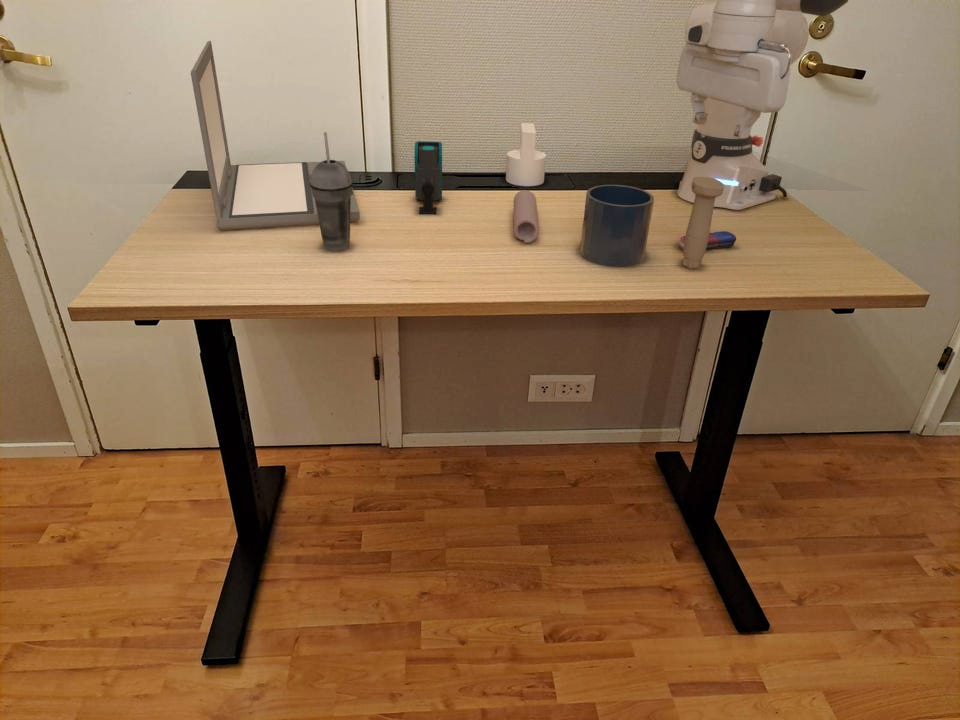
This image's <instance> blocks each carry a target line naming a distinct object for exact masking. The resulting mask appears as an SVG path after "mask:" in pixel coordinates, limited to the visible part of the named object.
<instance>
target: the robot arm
mask: <svg viewBox="0 0 960 720" xmlns="http://www.w3.org/2000/svg"><path fill="white" fill-rule="evenodd" d="M848 2H849V0H716V1H710V2H705V3H701V4H699V5H698V6H696V7H695V8H694V9H693V11H692V12H691V13H690V15H689V17H688V18H687V21H686V24H685V27H684V35H683V38H684V41H685V44H684V45H683V48H682V49H681V52H680V56H679V60H678V65H677V72H676V86H677V88H678V89H679V90H680V91H683V92H687V93H690V94H691V97H690V103H691V107H692V112H693V115H692V119H691V122H692V123H693V124H695V125H696V129H694V131H693V135H692V138H691V144H690V148H691V152H690V153H689V156H688V159H687V162H686V166H685V169H684V173H683V176H682V179H681V180H680V181H679V184H678V189H677V191H676V194H677V196H678V197H679V198H681V199H682V200H685V201H686V202H690V203H693V204H694V200H695V193H693V192H692V189H691V185H692V180H693V178H694V177H710V178H714V179H716V180H719V181H721V182H722V183H723V184H724V189H723V193H722V195H720V196H718V197H716V198H715V202H714V208H723V209H730V210H734V211H741V210H745V209H747V208H748V209H749V208H751V207H754V206H757V205H760V204H763V203H766V202H769V201H773V200H775V199H776V197H777V194H776V193H775V192H776V191H779V192H781V194H782V197H783V198H787V197H788V192H787V190H786V189H785V188H784V187H783V186H781V182H782V179H783V176H781V175H778V174H773V173H771V174H769V171H768V168H767V167H766V166H765V165H764V164H763V163H762V162H761V161H760V160H759V158H757V156H756V155H755V154H754V153H753V146H755V147H757V148H760V147H762V145H763V143H764V138H763V137H762V136H758V135H753V136H752V135H751V131H752V127H753V126H754V124H755V123H756V122H757V121H758V119H759V118H760V117H761V115H762V113H764V114H768V113H771V114H772V113H777V112H779V111H781V109H782V108H783V107H785V104H786V100H787V95H788V91H789V90H788V89H789V84H790V76H791V66H792V65H793V64H794V63H795V62H796V61H797V60H798V59H799V58H800V57H801V56H802V54H803V52H804V51H805V49H806V46H807V45H808V41H809V37H810V36H809V34H810V31H809V25H808V21H807V18H806V16H805V15H812V16H817V17H823V18H824V17H828V16H829V15H831V14H832V13H834V12H836V11H837V10H839V9H840V8H842V7H843V6H845V5H846V4H847V3H848ZM804 14H805V15H804Z"/></svg>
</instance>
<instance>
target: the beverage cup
mask: <svg viewBox="0 0 960 720" xmlns="http://www.w3.org/2000/svg"><path fill="white" fill-rule="evenodd" d="M323 138H324V139H323V140H324V148H325V155H326V159H325V160H322V161H319V162H320V163H319V164H318V165H317V166H316V167H315V168H314V170H313V172H312V174H311V183H310V187H311V189H312V193H313V196H314V198H315V203H316V209H317V214H318V219H319V225H318V226H319V231H320V234H321V240H322V243H323V248H324V250H325V251H327V252H332V253H333V252H334V253H337V252H344V251H346V250H348V249H350V239H351V223H350V206H351V194H352V188H353V185H354V183H353V180H352V179H353V178H352V176H351V173H350V172H349V170H348V168H347V166H346V167H345V166H344V165H343V164H342V163H340V162H338V161H339V160H335V159H331V158H330V157H331V156H330V149H329V140H328V132H326V131H324V132H323Z"/></svg>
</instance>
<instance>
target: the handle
mask: <svg viewBox="0 0 960 720" xmlns="http://www.w3.org/2000/svg"><path fill="white" fill-rule="evenodd" d="M691 189H692V192H693V193H695V200H694V203H693V204H692V208H691V212H690V215H689V220H688V223H687V227H686V231H685V235H684V236H685V241H684V248H683V250H682V256H683V257H682V262H681V264H682V266H683V267H686V268H689V269H699V268H700V266H701V264H702V261H703V258H704V256H705V253H706V250H707V249H706V247H707V243H708V239H709V233H711V226H712V219H713V214H714V208H715V207H714V202H715V198H716V197H718V196H720V195H722V193H723V189H724V184H723V183H722V182H721V181H719V180H716V179H714V178H710V177H694V178H693V180H692V185H691Z"/></svg>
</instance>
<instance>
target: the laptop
mask: <svg viewBox="0 0 960 720" xmlns="http://www.w3.org/2000/svg"><path fill="white" fill-rule="evenodd" d="M216 69H217V68H216V63H215V58H214V50H213V44H212V40H208V41H206V44H205V45H204V47H203V49H202V50H201V52H200V54H199V56H198V57H197V60H196V61H195V63H194V65H193V67H192V69H191V70H190V77H191V84H192V89H193V95H194V100H195V105H196V111H197V119H198V122H199V123H198V124H199V128H200V133H201V140H202V145H203V151H204V156H205V163H206V167H207V173H208V179H209V184H210V185H209V186H210V190H211V195H212V201H213V207H214V213H215V217H216V226H217V228H218V229H220V230H222V231H233V230H251V229H252V230H253V229H266V228H269V229H270V228H284V227H285V228H286V227H301V226H317V225H318V226H320V225H319V219H318V214H317V209H316V203H315V198H314V196H313V193H312V189H311V187H310V183H311V174H312V172H313V170H314V168H315V167H316V166H317V165H318V164H319V163H320V162H321V161H297V162H296V161H295V162H294V161H293V162H272V163H271V162H270V163H248V164H247V163H245V164H231V156H230V152H229V143H228V139H227V133H226V126H225V119H224V114H223V107H222V101H221V93H220V88H219V83H218V76H217V70H216ZM337 161H338V162H340V163H342V164H343V165H344V166H345V167H346V168H347V165H346V162H345V160H337ZM355 195H356V194H355V192H354V188H353V187H352V194H351V206H350V224H353V223H357V222H358V221H360V219H361V213H360V208H359V204H358V201H357V198H356V196H355Z"/></svg>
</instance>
